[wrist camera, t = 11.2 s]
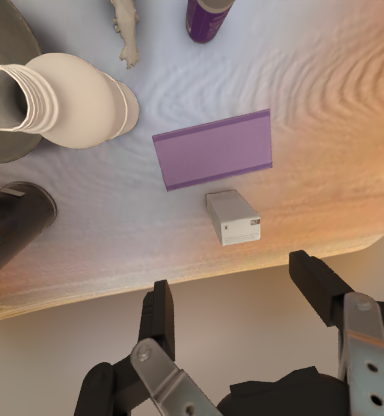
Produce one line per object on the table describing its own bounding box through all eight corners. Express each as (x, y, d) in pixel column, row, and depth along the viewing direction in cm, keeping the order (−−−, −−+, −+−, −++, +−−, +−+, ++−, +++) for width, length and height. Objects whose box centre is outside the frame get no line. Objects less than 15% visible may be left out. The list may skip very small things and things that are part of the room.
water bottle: (122, 72, 31) (-18, -45, 8) (150, 117, 34) (106, 127, 11) (84, 99, 32) (-137, 64, 9) (114, 141, 35) (5, 195, 12)
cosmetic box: (207, 213, 42) (220, 249, 31) (205, 192, 40) (217, 222, 29) (237, 208, 42) (261, 242, 31) (236, 187, 40) (261, 215, 29)
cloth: (167, 190, 39) (167, 191, 39) (152, 136, 35) (151, 136, 34) (271, 167, 39) (272, 167, 39) (269, 109, 35) (269, 109, 34)
